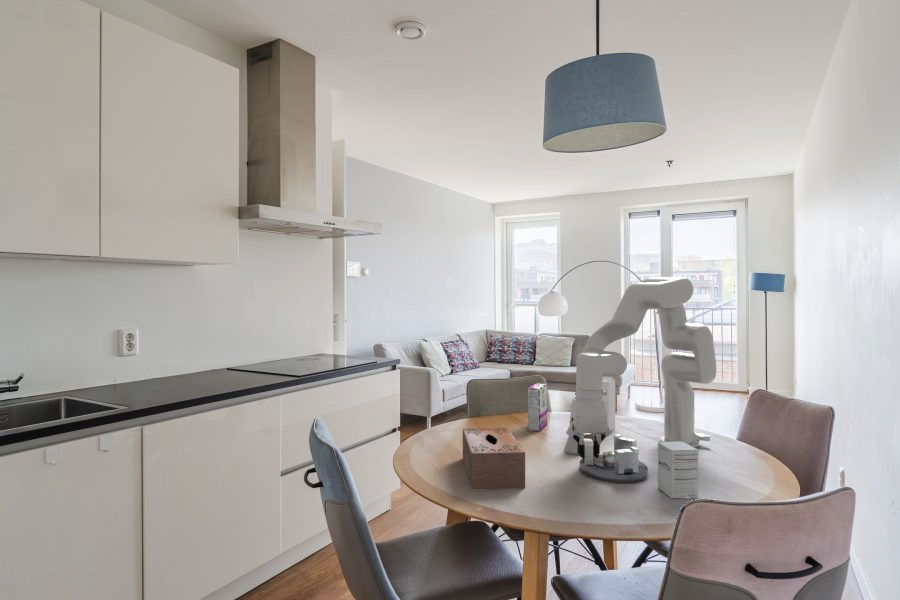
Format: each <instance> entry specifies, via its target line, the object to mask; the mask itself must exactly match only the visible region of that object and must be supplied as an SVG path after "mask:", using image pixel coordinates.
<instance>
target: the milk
mask: <svg viewBox="0 0 900 600" xmlns="http://www.w3.org/2000/svg"><path fill="white" fill-rule="evenodd" d="M602 389H603V390H604V391H606V392H607V395H604V396H603V398H602V399H603V400H604V401H605V406H606V413H607V425H608V427H609V429H610V431H611V430H612V431H615V430H616V379H614V377H606V376H604V377H603V384H602ZM612 431H611V432H612Z"/></svg>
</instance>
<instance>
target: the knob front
mask: <svg viewBox="0 0 900 600" xmlns="http://www.w3.org/2000/svg"><path fill="white" fill-rule="evenodd" d="M593 442H594V440H593V441H592V439H587V438H584V441H583V444H584V445H585V458H581V459H582V462H584V463H585V465H593V463H594V462H595V458H594V457H593Z"/></svg>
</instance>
